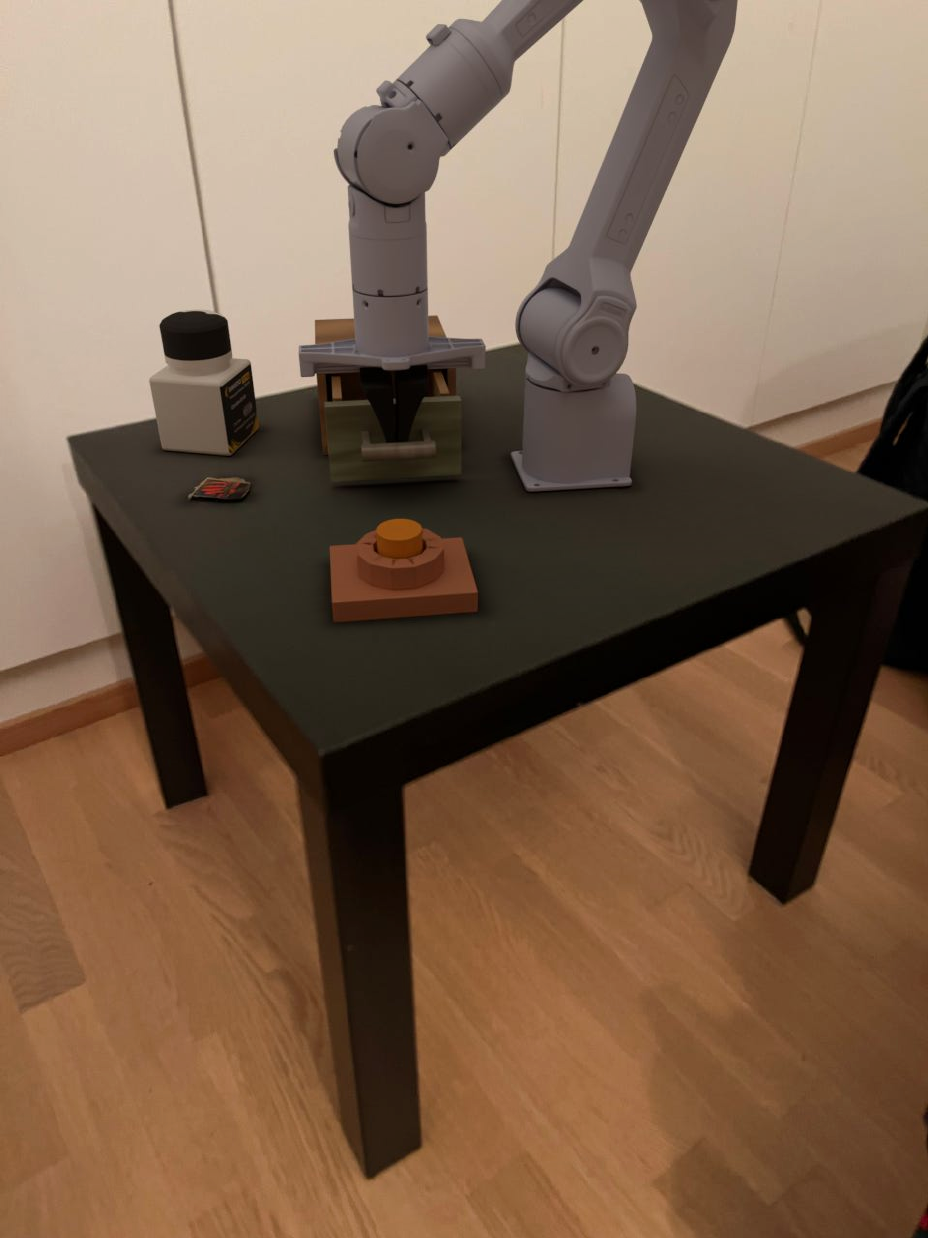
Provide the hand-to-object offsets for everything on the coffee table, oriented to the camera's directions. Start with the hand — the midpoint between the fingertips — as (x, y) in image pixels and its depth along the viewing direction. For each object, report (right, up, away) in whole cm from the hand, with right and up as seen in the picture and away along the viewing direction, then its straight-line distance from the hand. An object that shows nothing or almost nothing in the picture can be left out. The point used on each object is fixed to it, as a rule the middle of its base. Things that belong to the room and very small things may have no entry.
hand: (396, 455), depth 78 cm
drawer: (-1, +1, +7) cm, 7 cm away
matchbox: (-15, -3, +3) cm, 16 cm away
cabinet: (-2, +6, +16) cm, 18 cm away
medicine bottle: (-19, +4, +13) cm, 23 cm away
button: (+1, -9, -12) cm, 15 cm away
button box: (+1, -11, -10) cm, 15 cm away
